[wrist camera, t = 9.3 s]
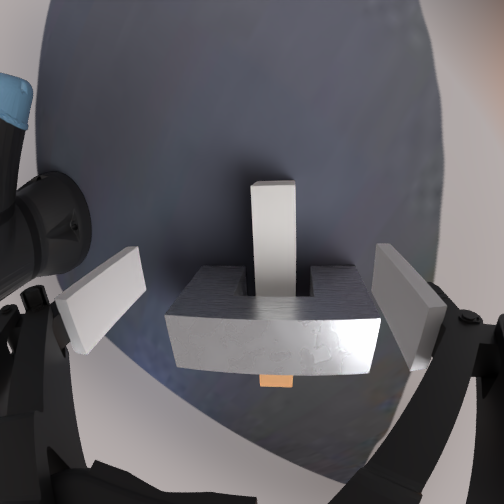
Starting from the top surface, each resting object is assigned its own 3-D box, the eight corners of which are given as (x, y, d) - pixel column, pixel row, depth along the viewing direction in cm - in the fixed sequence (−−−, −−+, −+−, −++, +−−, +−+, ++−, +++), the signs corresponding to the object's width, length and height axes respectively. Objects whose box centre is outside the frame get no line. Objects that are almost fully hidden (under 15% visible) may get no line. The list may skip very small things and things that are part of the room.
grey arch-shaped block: (350, 310, 34) (368, 373, 23) (207, 309, 36) (177, 367, 26) (355, 265, 32) (380, 318, 21) (202, 265, 34) (164, 314, 24)
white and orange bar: (293, 362, 37) (292, 387, 33) (264, 361, 38) (260, 386, 33) (294, 180, 30) (295, 185, 25) (257, 181, 30) (250, 186, 26)
